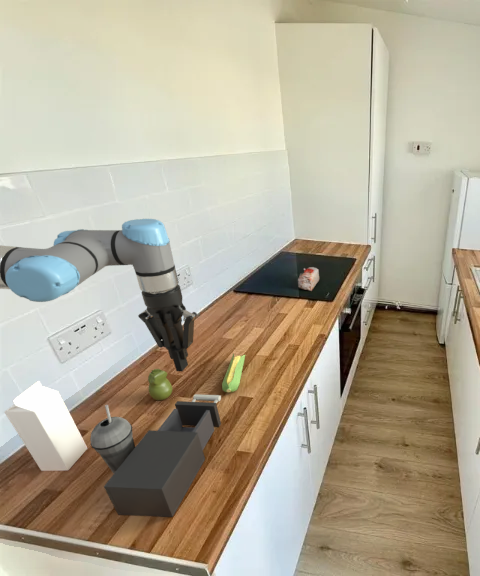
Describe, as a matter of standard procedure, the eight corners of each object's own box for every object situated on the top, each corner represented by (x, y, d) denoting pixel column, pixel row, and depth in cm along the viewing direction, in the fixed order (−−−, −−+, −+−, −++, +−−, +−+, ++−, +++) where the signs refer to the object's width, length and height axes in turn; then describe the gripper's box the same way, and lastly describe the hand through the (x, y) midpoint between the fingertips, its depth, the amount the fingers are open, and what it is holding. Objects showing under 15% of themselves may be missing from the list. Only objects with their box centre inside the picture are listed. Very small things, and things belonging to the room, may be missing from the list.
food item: (312, 292, 164) (311, 274, 160) (297, 290, 165) (296, 273, 160) (320, 281, 176) (320, 264, 172) (306, 280, 177) (305, 263, 173)
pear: (164, 389, 100) (156, 363, 96) (178, 393, 99) (170, 367, 95) (148, 401, 95) (138, 375, 91) (162, 406, 94) (153, 379, 90)
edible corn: (220, 398, 98) (218, 386, 96) (233, 357, 115) (231, 346, 113) (238, 396, 99) (236, 384, 97) (248, 355, 116) (247, 345, 114)
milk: (88, 448, 81) (54, 380, 72) (68, 471, 76) (28, 400, 66) (62, 448, 81) (24, 379, 71) (40, 471, 75) (-4, 400, 66)
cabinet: (158, 457, 80) (148, 430, 76) (205, 459, 80) (197, 432, 76) (118, 515, 68) (103, 486, 64) (172, 517, 68) (161, 489, 64)
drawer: (194, 407, 93) (188, 386, 90) (229, 409, 93) (225, 388, 90) (154, 463, 77) (145, 441, 74) (197, 465, 77) (190, 443, 74)
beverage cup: (112, 461, 78) (83, 399, 70) (148, 451, 81) (125, 390, 72) (103, 489, 72) (70, 425, 64) (142, 477, 75) (115, 415, 66)
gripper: (197, 282, 78) (214, 360, 89) (143, 279, 78) (166, 357, 88) (179, 296, 72) (199, 379, 82) (120, 292, 72) (147, 376, 82)
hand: (182, 367), depth 85 cm, fingers closed
